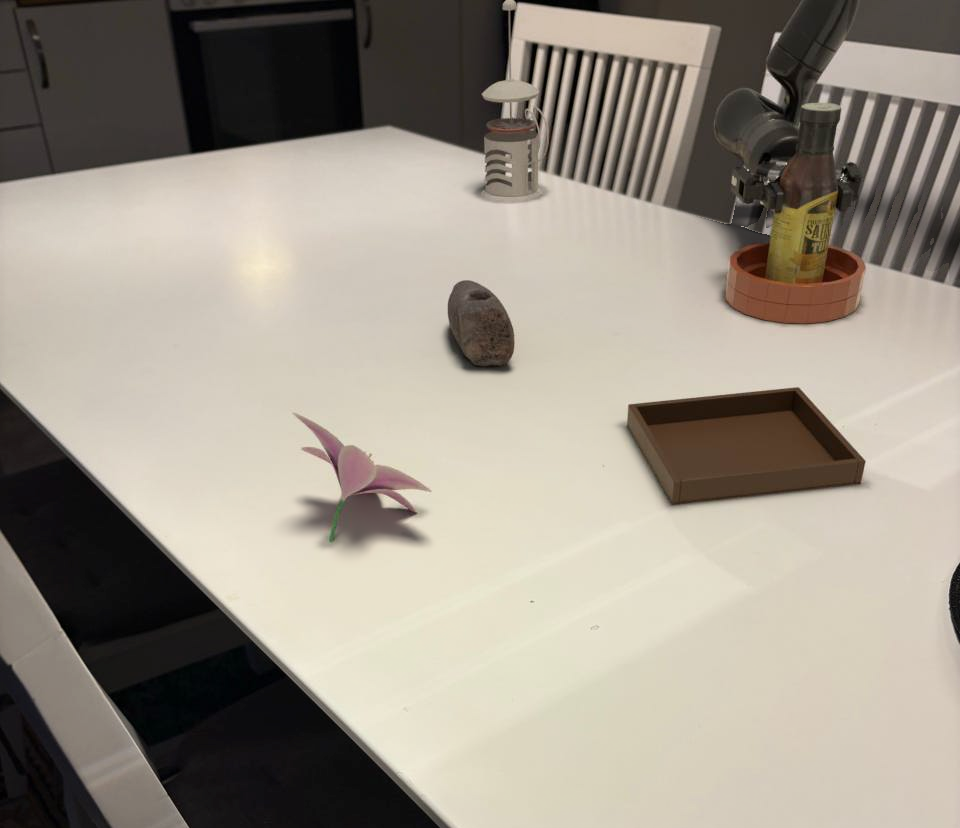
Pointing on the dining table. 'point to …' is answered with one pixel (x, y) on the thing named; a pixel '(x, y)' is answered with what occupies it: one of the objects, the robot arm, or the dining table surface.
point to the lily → (358, 470)
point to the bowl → (794, 288)
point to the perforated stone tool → (480, 324)
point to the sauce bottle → (806, 200)
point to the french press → (512, 141)
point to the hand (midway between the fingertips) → (812, 202)
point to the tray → (742, 445)
